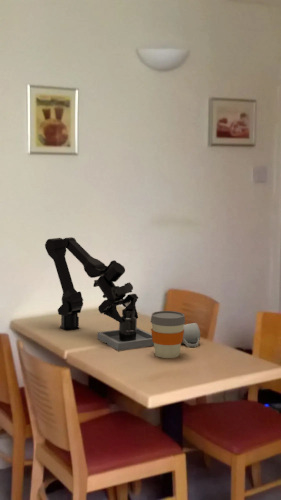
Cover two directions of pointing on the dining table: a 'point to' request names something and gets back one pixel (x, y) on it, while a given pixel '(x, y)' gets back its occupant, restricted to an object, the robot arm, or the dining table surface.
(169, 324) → the reusable coffee cup
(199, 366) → the dining table surface
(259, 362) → the dining table surface
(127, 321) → the supplement bottle
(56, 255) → the robot arm
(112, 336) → the tray
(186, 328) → the ceramic mug
